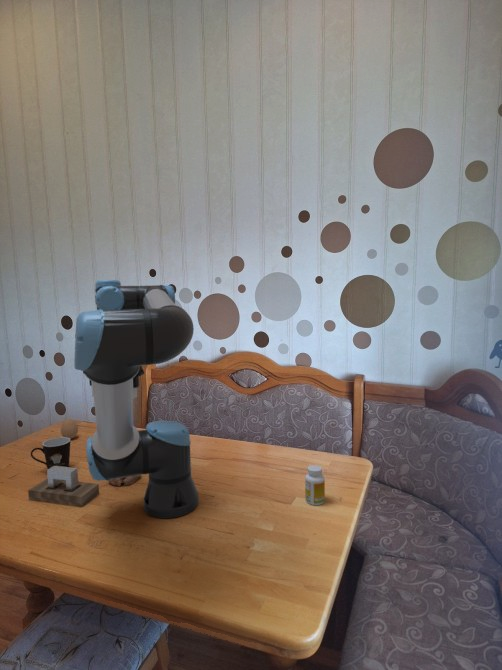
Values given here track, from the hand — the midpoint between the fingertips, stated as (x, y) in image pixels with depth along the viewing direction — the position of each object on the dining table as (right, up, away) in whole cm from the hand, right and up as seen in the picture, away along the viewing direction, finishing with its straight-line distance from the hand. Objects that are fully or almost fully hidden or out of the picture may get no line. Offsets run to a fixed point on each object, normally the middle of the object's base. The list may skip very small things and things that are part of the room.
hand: (114, 396), depth 133 cm
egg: (-31, -23, +39) cm, 55 cm away
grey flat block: (-12, -28, -9) cm, 32 cm away
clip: (-12, -28, -9) cm, 32 cm away
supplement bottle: (+61, -28, -14) cm, 69 cm away
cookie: (+2, -27, +2) cm, 27 cm away
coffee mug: (-24, -26, +10) cm, 37 cm away
